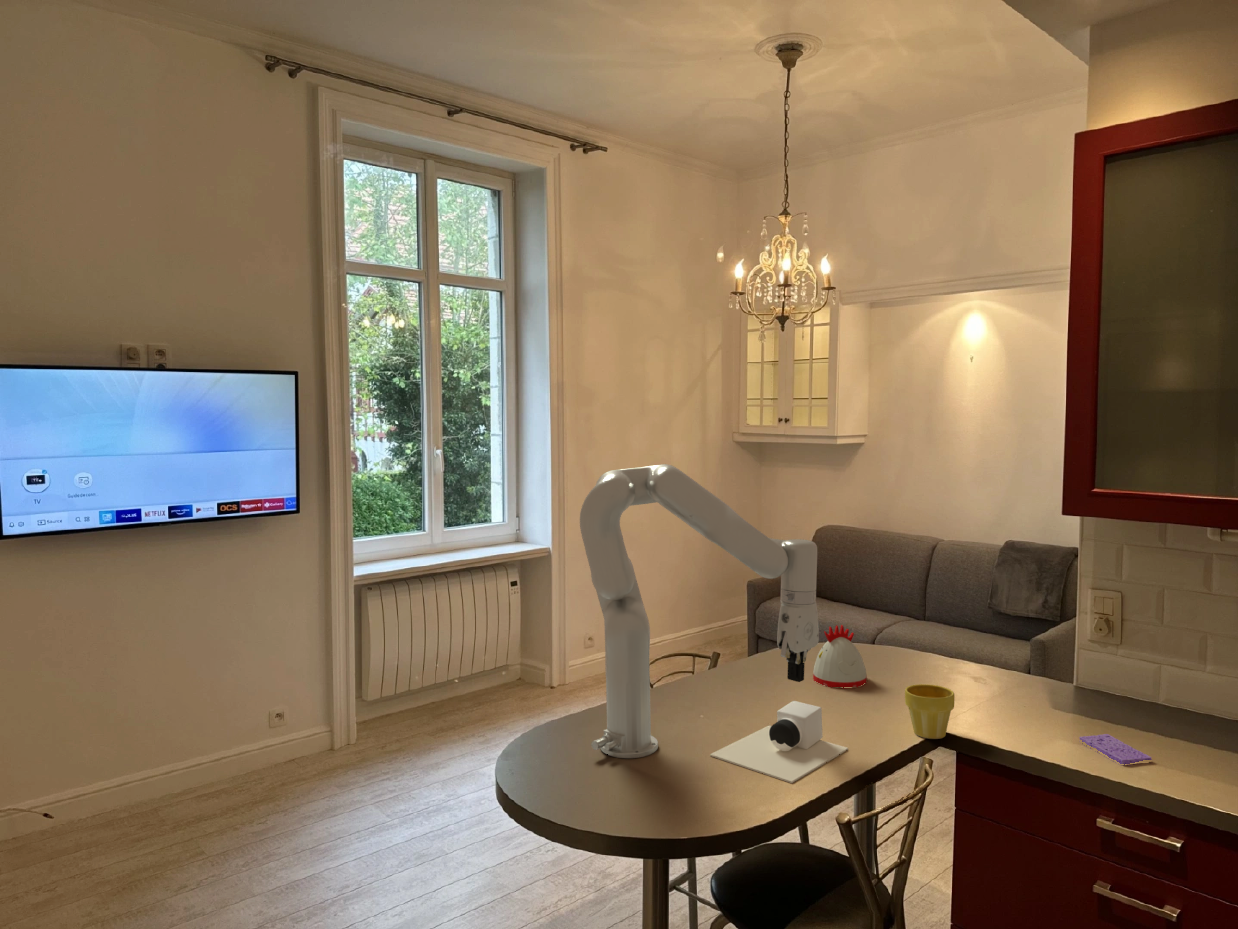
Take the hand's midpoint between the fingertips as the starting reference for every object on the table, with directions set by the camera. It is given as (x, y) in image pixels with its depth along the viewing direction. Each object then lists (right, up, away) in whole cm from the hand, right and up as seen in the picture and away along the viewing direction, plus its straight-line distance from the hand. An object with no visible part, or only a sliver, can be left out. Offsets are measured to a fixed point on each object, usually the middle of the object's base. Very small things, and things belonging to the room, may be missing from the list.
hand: (795, 679), depth 185 cm
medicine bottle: (+3, -9, +3) cm, 10 cm away
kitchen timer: (+21, -11, +43) cm, 49 cm away
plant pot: (+31, -13, +4) cm, 34 cm away
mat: (-4, -14, -5) cm, 16 cm away
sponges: (+65, -14, -8) cm, 67 cm away
